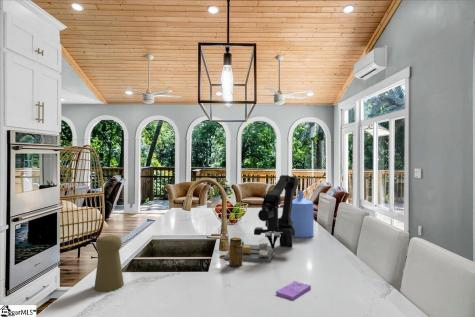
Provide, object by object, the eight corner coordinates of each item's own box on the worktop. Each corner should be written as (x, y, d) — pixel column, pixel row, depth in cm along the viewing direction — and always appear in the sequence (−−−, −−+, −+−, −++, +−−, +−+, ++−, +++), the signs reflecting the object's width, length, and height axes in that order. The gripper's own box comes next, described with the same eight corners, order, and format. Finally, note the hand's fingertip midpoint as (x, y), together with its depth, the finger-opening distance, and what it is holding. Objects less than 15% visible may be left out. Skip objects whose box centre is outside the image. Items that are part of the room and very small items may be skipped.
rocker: (243, 241, 171) (243, 239, 170) (240, 248, 163) (240, 246, 163) (236, 240, 171) (236, 238, 171) (233, 247, 164) (233, 245, 163)
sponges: (311, 290, 115) (310, 285, 115) (292, 302, 106) (292, 296, 106) (294, 285, 120) (294, 280, 120) (275, 296, 110) (275, 290, 110)
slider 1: (251, 251, 156) (251, 245, 156) (250, 253, 153) (250, 247, 153) (243, 251, 157) (243, 245, 157) (242, 253, 154) (242, 247, 154)
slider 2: (267, 248, 161) (267, 242, 161) (267, 250, 158) (266, 244, 158) (259, 248, 162) (259, 242, 162) (259, 249, 159) (259, 244, 159)
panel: (274, 248, 167) (274, 241, 168) (270, 262, 145) (270, 253, 145) (234, 246, 172) (234, 239, 172) (224, 259, 149) (224, 251, 149)
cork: (105, 294, 112) (105, 241, 112) (88, 288, 117) (87, 237, 117) (129, 284, 121) (129, 235, 121) (112, 279, 126) (112, 232, 126)
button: (268, 255, 150) (268, 250, 150) (267, 257, 146) (267, 252, 146) (259, 254, 150) (259, 249, 151) (258, 257, 147) (258, 252, 147)
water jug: (319, 235, 195) (318, 191, 196) (301, 239, 187) (300, 192, 187) (300, 231, 208) (300, 189, 209) (283, 234, 200) (283, 190, 200)
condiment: (240, 261, 147) (240, 236, 147) (247, 267, 139) (246, 240, 139) (225, 263, 144) (225, 237, 144) (231, 269, 136) (231, 242, 136)
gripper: (291, 215, 165) (291, 245, 165) (256, 214, 169) (256, 243, 169) (290, 219, 154) (291, 251, 154) (253, 218, 158) (253, 249, 158)
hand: (272, 248), depth 159 cm, fingers closed
